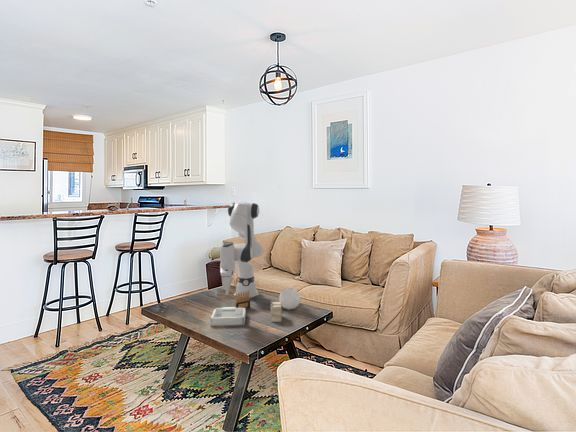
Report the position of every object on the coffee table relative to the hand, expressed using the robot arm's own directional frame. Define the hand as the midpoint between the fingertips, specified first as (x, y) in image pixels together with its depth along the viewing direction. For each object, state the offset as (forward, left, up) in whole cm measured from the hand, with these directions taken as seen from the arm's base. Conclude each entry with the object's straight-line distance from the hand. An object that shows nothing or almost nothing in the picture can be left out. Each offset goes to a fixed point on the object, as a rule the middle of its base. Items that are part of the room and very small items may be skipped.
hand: (228, 292), depth 210 cm
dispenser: (0, +29, -17) cm, 33 cm away
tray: (0, 0, -17) cm, 17 cm away
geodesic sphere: (-18, +38, -17) cm, 45 cm away
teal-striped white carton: (0, 0, -17) cm, 17 cm away
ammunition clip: (-20, +7, -17) cm, 27 cm away
